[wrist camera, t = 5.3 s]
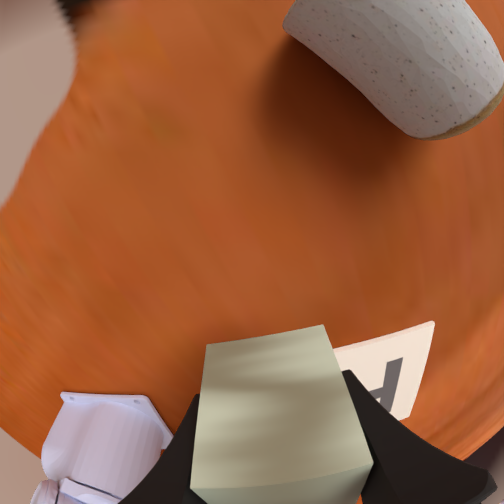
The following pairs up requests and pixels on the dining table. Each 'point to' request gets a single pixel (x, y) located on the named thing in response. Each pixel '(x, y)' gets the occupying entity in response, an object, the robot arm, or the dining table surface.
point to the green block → (277, 424)
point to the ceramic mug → (408, 59)
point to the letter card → (390, 366)
